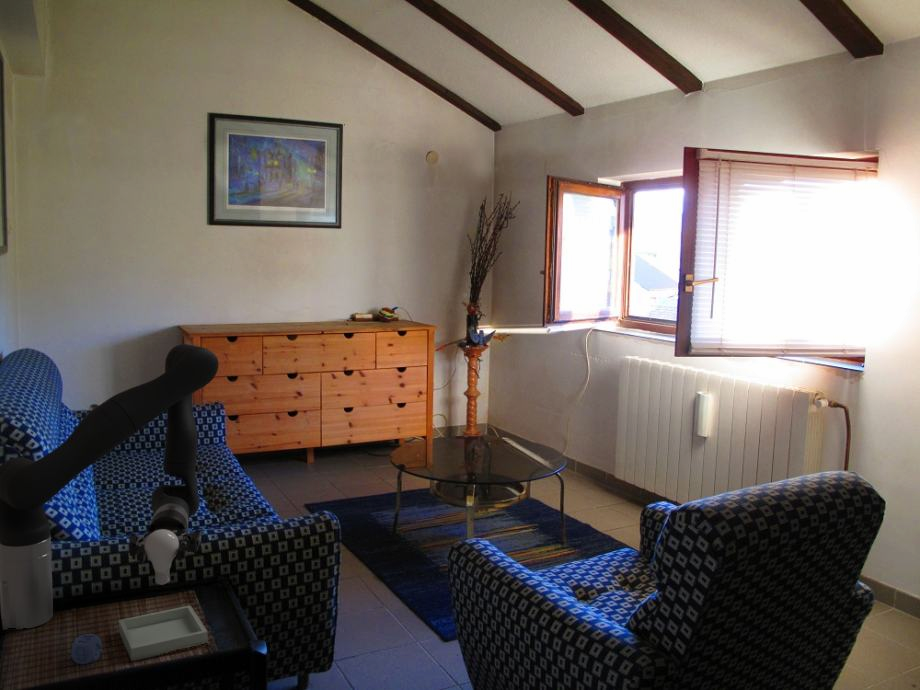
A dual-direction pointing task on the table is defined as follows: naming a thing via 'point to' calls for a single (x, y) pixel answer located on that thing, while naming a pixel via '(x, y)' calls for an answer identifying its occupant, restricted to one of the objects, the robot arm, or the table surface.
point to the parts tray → (161, 632)
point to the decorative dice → (86, 649)
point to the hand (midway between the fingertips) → (160, 557)
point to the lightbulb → (161, 553)
